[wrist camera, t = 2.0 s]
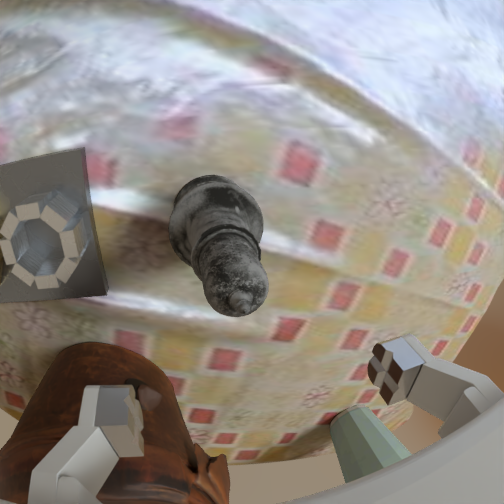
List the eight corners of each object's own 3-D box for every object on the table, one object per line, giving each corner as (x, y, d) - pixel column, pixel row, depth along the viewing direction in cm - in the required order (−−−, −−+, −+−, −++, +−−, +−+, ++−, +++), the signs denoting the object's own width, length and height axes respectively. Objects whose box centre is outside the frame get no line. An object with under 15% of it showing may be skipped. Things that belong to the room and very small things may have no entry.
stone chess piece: (192, 261, 24) (212, 383, 13) (154, 195, 21) (136, 289, 10) (262, 226, 24) (332, 327, 13) (231, 156, 21) (290, 213, 10)
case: (209, 432, 34) (238, 563, 18) (55, 425, 29) (41, 550, 13) (216, 320, 27) (270, 522, 11) (6, 312, 22) (-67, 475, 6)
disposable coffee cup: (302, 432, 39) (339, 519, 26) (358, 386, 37) (413, 475, 24) (343, 439, 44) (379, 510, 31) (392, 398, 41) (440, 470, 28)
